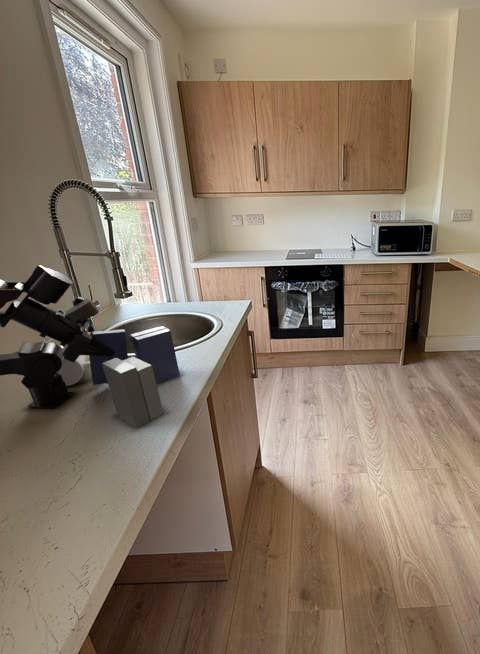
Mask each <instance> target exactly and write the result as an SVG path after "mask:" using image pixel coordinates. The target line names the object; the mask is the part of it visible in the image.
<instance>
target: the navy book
mask: <svg viewBox="0 0 480 654" xmlns="http://www.w3.org/2000/svg"><path fill="white" fill-rule="evenodd" d="M87 333H88V334H90V333H91V332H87ZM93 333H94V336H95V339H96V340H97V341H99V342H100V343H102V344H103V345H105V346H106V347H108V348H109V349H111V350H112V351H113V352H114V355H113V356H94V355H89V359H88V360H89V362H90V366H91V367H90V372H91V379H92V386H98V385H105V384H108V382H107V379H106V376H105V372H104V369H103V366H102V363H103V362H106V361H109V360H112V359H114V358H118V359H120V360H125V359H128V358H129V356H128V355H129V354H128V344H127V334H126V329H124V328H123V329H111V330H99V331H97V330H96V331H94V332H93Z"/></svg>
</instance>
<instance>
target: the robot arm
mask: <svg viewBox="0 0 480 654" xmlns="http://www.w3.org/2000/svg"><path fill="white" fill-rule="evenodd" d="M73 283H74V282H73V281H72V280H71V279H70V278H69V277H68V276H66V275H65V274H63V273H61V272H60V271H57V270H54V269H51V268H49V267H45V266H43V265H41V264H37V266H36V267H35V268H34V269H33V271H32V274H31V275H30V276H29V277H28V278H27V280H25V281H5V280H3V279H1V278H0V310H1V309H2V308H3V307H5V305H6V304H7V303H9V302H10V304H9V306H8V307H7V308H6V309H5V310H4V311H0V328H5V327H6V326H7V325H8V324H9V323H10V321H13V322H15V323H17V324H20V325H22V326H24V327H27V328H29V329H30V330H33V331H35V332H37V333H39V334H38V335H39V337H42V338H44V340H41V341H37V342H23V343H21V345H20V347H19V349H18V350H17V351H15V352H11V353H3V354H2V353H1V354H0V376H8V375H9V376H10V375H18V376H23V377H22V379H21V381H20V383H21V384H22V385H23V386H24V387H25V388H26V389H28V391H29V394H30V396H31V399H32V402H31V403H30V404H28V405H27V407H28V409H55V408H57V407H58V406H59V405H61V404H62V403H63V402H65V401H66V400H68V399H69V398H71V397H72V396H74V394H75V392H74V391H69V390H68V386H66V384H65V381H63V379H62V376H61V375H59V374H58V373H57V372H58V371H59V370H60V369H61V367H62V364H63V360H64V359H66V360H68V361H71V362H73V363H74V362H75V361H76V359H77V358H78V357H79V356H80V355H94V356H113V355H114V352H113V351H112V350H111V349H109V348H108V347H106V346H105V345H103V344H102V343H100V342H99V341H97V340H96V339H95V336H94V333H93V332H95V328H94V324H93V323H90V324H89V326H88V327H87V326H85V324H86V323H89V322H90V321H91V318H92V317H96V316H97V315H98V314H99V307H97V305H95V303H94V302H93V300H91V299H90V298H88V297H86V298H83V297H81V296H77V297H75V298H73V300H72V304H73V306H70V308H68V309H67V310H63V309H62V308H59V309H58V308H57V309H54V308H51V307H49V305H50V304H58V302H59V301H60V300H61V299H62V297H63V296H64V295H65V294H66V292H67V291H68V290H69V288H70V287H71V286H72V285H73ZM23 293H26V294H25V295H24V297H23V298H22V299H21V300H20V301H17V300H18V299H19V298H20V297H21V296H22V294H23ZM87 332H91V333H90V334H88V333H87ZM46 337H48V338H51V339H53V340H55V341H57V342H59V345H58V343H55V342H46V340H45V338H46ZM60 345H61V346H63V349H62V348H61V347H60Z"/></svg>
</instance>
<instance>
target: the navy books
mask: <svg viewBox="0 0 480 654" xmlns="http://www.w3.org/2000/svg"><path fill="white" fill-rule="evenodd" d="M129 336H130V340H131V344H132V348H133V352H134V357H135V358H137V359H139V360H142V361H144V362H146V363H148V364H150V365H152V368H153V372H154V376H155V380H156V384H157V385H159V384H162V383H165V382H167V381H170V380H173V379H175V378H178V377H180V376H181V373H180V368H179V363H178V359H177V355H176V350H175V345H174V340H173V335H172V331H171V329H169V328H167V327H165V326H163V325H160V326H157V327H154V328H149V329H146V330H142V331H139V332H134V333H131V334H129Z"/></svg>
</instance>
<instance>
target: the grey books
mask: <svg viewBox="0 0 480 654" xmlns="http://www.w3.org/2000/svg"><path fill="white" fill-rule="evenodd" d="M102 366H103V369H104V372H105V376H106V379H107V382H108V383H107V385H108V389H109V392H110V395H111V398H112V402H113V405H114V408H115V412H116V414H117V417H119V418H121V419H122V420H123V421H125V422H127V423H128V424H129V425H131V426H132V427H134V428H135V429H138V428H140V427H141V426H144V425H145V424H148V423H149V422H151V421H152V420H153V419H155V418H157V417H159V416H161V415H163V414H164V410H163V406H162V401H161V398H160V393H159V389H158V384H156V380H155V376H154V372H153V368H152V365H150V364H148V363H146V362H144V361H142V360H139V359H137V358H136V356H131V357H128V359H125V360H120V359H118V358H114V359H112V360H109V361H106V362H103V363H102Z"/></svg>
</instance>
